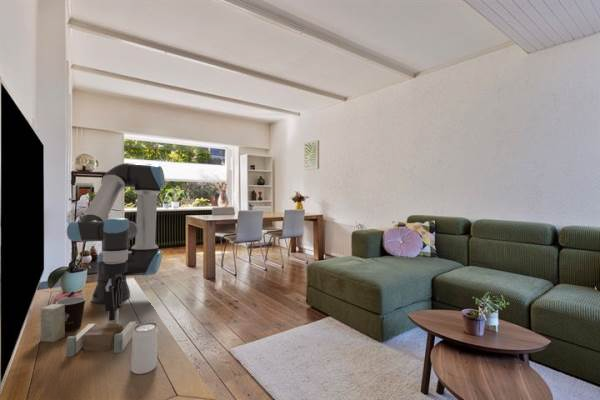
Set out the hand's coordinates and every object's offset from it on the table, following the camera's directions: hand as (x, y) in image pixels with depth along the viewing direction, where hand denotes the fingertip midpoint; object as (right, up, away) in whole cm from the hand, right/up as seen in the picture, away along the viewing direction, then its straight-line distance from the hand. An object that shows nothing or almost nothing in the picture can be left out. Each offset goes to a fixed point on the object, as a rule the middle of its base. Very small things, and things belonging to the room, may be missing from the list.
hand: (113, 327), depth 103 cm
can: (+22, -3, -20) cm, 30 cm away
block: (+1, -2, -7) cm, 7 cm away
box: (-17, -2, -5) cm, 18 cm away
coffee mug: (-19, -2, +4) cm, 20 cm away
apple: (-27, -1, +14) cm, 30 cm away
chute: (+1, -2, -7) cm, 7 cm away
